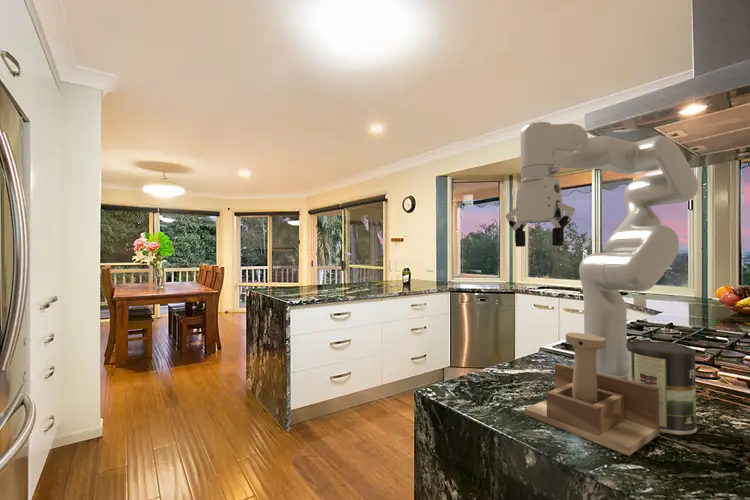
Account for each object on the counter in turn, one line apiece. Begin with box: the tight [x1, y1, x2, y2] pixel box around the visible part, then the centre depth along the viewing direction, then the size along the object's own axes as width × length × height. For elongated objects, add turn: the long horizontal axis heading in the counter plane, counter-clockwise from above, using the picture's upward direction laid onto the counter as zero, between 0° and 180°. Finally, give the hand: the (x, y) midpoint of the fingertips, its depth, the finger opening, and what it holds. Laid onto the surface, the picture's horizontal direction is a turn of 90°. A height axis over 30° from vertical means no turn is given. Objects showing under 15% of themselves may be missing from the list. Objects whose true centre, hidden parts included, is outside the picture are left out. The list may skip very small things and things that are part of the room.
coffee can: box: [626, 339, 698, 436], centre depth 69 cm, size 10×10×14 cm
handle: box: [565, 332, 606, 405], centre depth 68 cm, size 5×6×15 cm
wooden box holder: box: [524, 362, 660, 457], centre depth 68 cm, size 12×18×8 cm, turn 34°
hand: (538, 246), depth 89 cm, fingers open, 9 cm apart
